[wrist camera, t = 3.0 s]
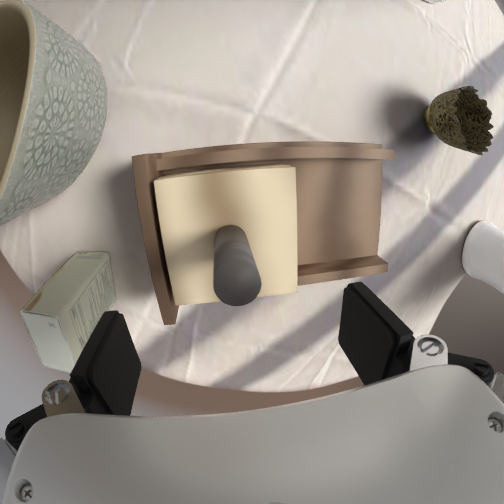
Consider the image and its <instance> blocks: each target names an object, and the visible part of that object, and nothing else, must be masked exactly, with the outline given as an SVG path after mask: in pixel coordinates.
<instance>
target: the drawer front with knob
mask: <svg viewBox="0 0 504 504" xmlns="http://www.w3.org/2000/svg"><path fill="white" fill-rule="evenodd" d="M154 187H155V195H156V202H157V209H158V216H159V222H160V228H161V234H162V240H163V246H164V251H165V257H166V262H167V267H168V272H169V277H170V282H171V286H172V291H173V295H174V300H175V304H176V305H187V304H198V303H209V302H219V301H222V302H223V303H225V304H228V305H231V306H242V305H246V304H248V303H250V302H252V301H253V300H254V299H255V298H256V297H263V296H271V295H279V294H286V293H294V292H297V197H296V170H295V167H292V166H290V165H283V164H278V163H274V164H257V165H243V166H231V167H221V168H211V169H202V170H193V171H185V172H177V173H170V174H167V175H165V176H163V177H159V178H158V179H156V180H154Z"/></svg>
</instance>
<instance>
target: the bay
mask: <svg viewBox="0 0 504 504" xmlns="http://www.w3.org/2000/svg"><path fill="white" fill-rule="evenodd" d="M382 159H386V160H395V150H388V149H382V145H381V144H367V143H349V142H269V143H250V144H235V145H224V146H213V147H204V148H195V149H187V150H180V151H173V152H166V153H154V154H142V155H137V156H132V164H133V173H134V181H135V189H136V196H137V202H138V209H139V215H140V221H141V227H142V232H143V238H144V243H145V248H146V253H147V258H148V262H149V267H150V271H151V276H152V280H153V284H154V288H155V292H156V296H157V300H158V304H159V308H160V312H161V315H162V319H163V323H164V325H171V324H175V323H176V318H177V313H178V308H179V305H176V304H175V300H174V295H173V291H172V286H171V282H170V277H169V272H168V267H167V262H166V257H165V251H164V246H163V240H162V234H161V228H160V222H159V216H158V209H157V202H156V195H155V187H154V180H156V179H158V178H159V177H163V176H165V175H167V174H170V173H177V172H185V171H193V170H202V169H211V168H221V167H231V166H243V165H257V164H274V163H278V164H283V165H290V166H292V167H295V170H296V197H297V286H298V285H306V284H313V283H320V282H327V281H334V280H340V279H347V278H353V277H360V276H366V275H372V274H378V273H384V272H387V270H388V263H387V262H386V261H384V260H383V259H382V258H380V257H379V256H378V255H377V252H378V242H379V230H380V216H381V195H382Z"/></svg>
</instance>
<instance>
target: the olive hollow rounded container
mask: <svg viewBox="0 0 504 504" xmlns="http://www.w3.org/2000/svg"><path fill="white" fill-rule="evenodd" d="M477 91H478V90H476V89H474V87H473V86H468V87H462V88H458V89H455V90H451V91H448V92H445V93H442V94H440V95H438V96H437V97H436V98H435V99H434V100H433V101H432V103H431V106H429V107H428V108H427V109H426V110H425V113H424V120H425V124H426V126H427V128H428V129H429V130H430V131H431V132H433V133H435V134H436V135H437V136H438V138H439V139H440V140H442V141H443V142H444V143H446V144H448V145H450V146H453V147H455V148H459V149H462V150H465V151H469V152H472V153H475V154H478V155H483V153H482V151H483V152H487V151H488V149H487V148H486V147H487V146H490V145H491V139H492V138H493V136H492V135H491V134H490V132H489V131H488V130H490V129H491V128H493V127H494V126H493V125H491V124H490V123H489V121H490V119H491V115H492V112H491V111H490V110H489V109H488V107H487V101H486V100H484V99H479V98H478V95H476V92H477Z"/></svg>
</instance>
